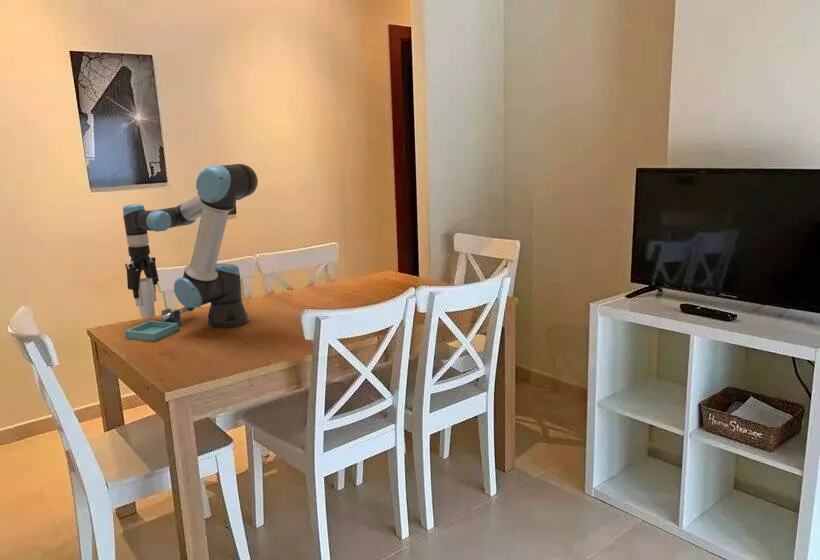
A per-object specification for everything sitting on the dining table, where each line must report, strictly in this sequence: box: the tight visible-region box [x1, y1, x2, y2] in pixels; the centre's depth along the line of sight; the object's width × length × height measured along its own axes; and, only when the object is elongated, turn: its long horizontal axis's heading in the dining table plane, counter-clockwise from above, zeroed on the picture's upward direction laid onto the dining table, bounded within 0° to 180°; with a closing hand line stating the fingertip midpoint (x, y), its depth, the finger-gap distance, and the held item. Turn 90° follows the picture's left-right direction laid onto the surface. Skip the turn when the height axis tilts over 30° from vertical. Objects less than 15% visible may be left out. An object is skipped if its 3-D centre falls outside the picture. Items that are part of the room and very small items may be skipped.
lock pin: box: [160, 306, 195, 321], centre depth 247 cm, size 3×16×3 cm, turn 160°
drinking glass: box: [135, 277, 156, 320], centre depth 248 cm, size 7×7×15 cm
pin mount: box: [160, 307, 182, 328], centre depth 244 cm, size 6×4×6 cm, turn 70°
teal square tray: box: [124, 320, 180, 343], centre depth 235 cm, size 13×13×3 cm
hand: (146, 303), depth 249 cm, fingers closed on drinking glass, 7 cm apart
